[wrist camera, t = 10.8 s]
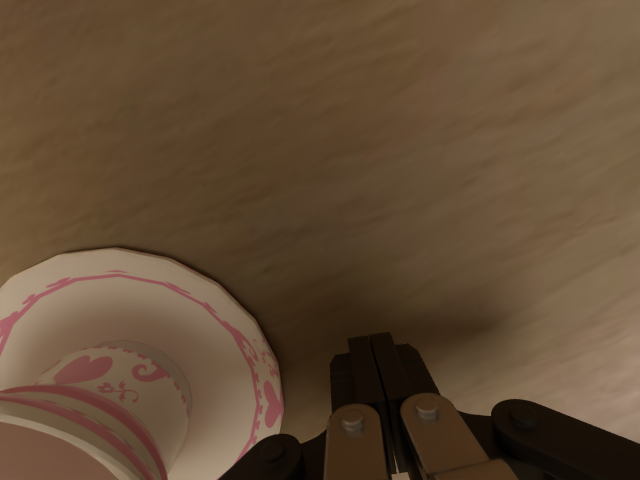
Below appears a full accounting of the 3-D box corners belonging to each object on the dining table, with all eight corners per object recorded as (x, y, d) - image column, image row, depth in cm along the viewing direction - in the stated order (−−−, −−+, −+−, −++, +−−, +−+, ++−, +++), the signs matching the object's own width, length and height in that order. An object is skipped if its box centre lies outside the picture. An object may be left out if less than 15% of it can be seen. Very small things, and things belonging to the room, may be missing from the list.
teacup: (290, 253, 13) (263, 335, 7) (281, 524, 15) (256, 759, 9) (-51, 237, 13) (-385, 306, 7) (-2, 513, 15) (-212, 743, 9)
